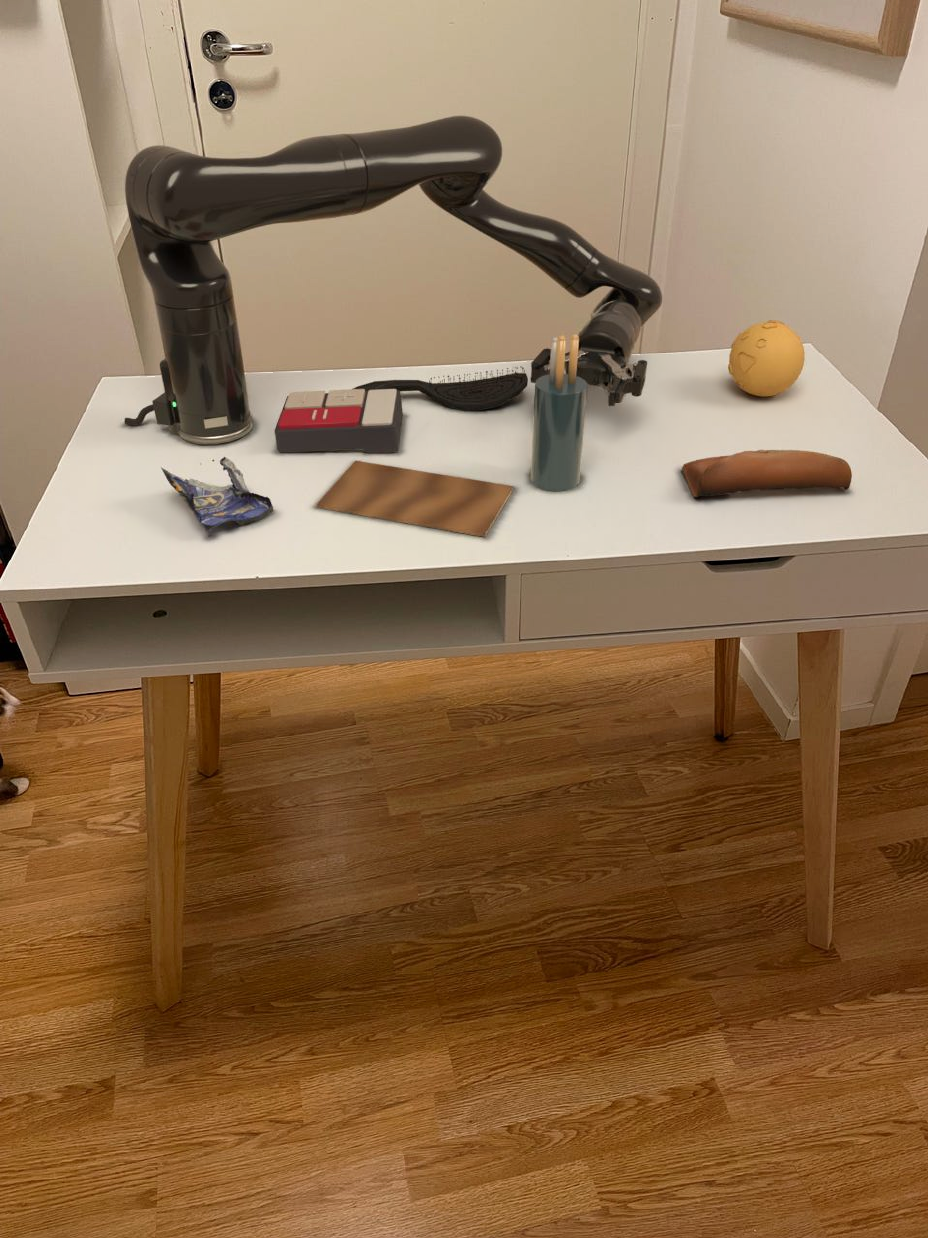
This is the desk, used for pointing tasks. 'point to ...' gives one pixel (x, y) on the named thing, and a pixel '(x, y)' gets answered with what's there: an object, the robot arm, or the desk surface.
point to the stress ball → (766, 358)
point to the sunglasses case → (766, 472)
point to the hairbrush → (462, 390)
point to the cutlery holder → (559, 421)
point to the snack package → (221, 499)
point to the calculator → (340, 421)
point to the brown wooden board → (417, 498)
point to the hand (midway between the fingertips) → (576, 394)
